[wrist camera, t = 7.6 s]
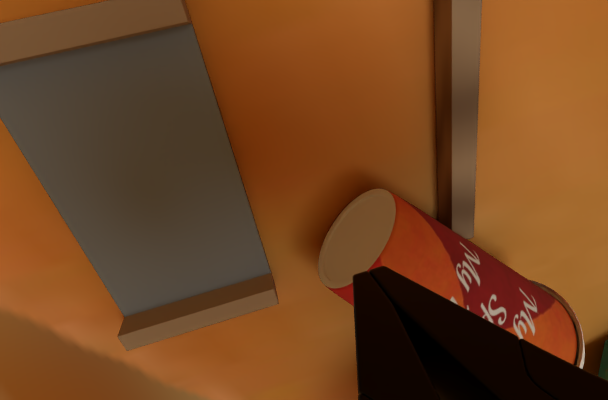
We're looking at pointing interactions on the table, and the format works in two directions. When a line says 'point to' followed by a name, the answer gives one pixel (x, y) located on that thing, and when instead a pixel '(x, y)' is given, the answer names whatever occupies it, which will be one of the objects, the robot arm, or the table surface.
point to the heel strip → (457, 110)
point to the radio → (604, 362)
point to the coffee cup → (445, 271)
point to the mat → (136, 161)
